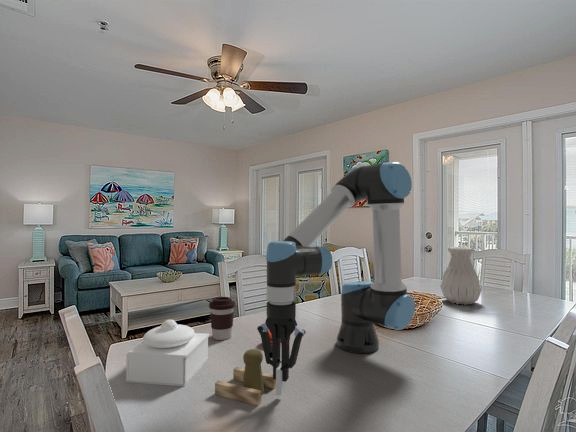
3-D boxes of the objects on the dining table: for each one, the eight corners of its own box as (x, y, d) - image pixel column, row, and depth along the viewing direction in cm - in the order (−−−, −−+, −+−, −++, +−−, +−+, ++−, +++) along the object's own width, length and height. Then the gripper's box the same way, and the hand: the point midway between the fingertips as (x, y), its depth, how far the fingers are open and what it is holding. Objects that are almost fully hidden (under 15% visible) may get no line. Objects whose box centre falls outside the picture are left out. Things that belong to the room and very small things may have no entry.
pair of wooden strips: (276, 386, 94) (276, 375, 94) (258, 405, 84) (258, 393, 84) (236, 377, 99) (236, 366, 99) (214, 394, 90) (215, 383, 90)
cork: (242, 386, 94) (242, 346, 94) (264, 385, 94) (264, 346, 94) (241, 398, 88) (241, 356, 88) (264, 397, 88) (264, 355, 88)
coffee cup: (229, 342, 126) (229, 302, 126) (204, 340, 128) (204, 301, 128) (238, 333, 136) (238, 296, 136) (215, 331, 138) (215, 295, 138)
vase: (446, 306, 177) (446, 249, 177) (436, 297, 197) (436, 245, 197) (487, 308, 174) (488, 250, 174) (473, 298, 194) (473, 246, 194)
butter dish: (157, 357, 113) (158, 309, 113) (209, 360, 111) (209, 312, 111) (125, 382, 96) (126, 326, 96) (186, 387, 94) (186, 329, 94)
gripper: (309, 300, 89) (309, 390, 89) (265, 295, 94) (264, 380, 94) (299, 307, 82) (298, 405, 82) (251, 302, 87) (251, 394, 87)
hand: (280, 392), depth 88 cm, fingers closed
